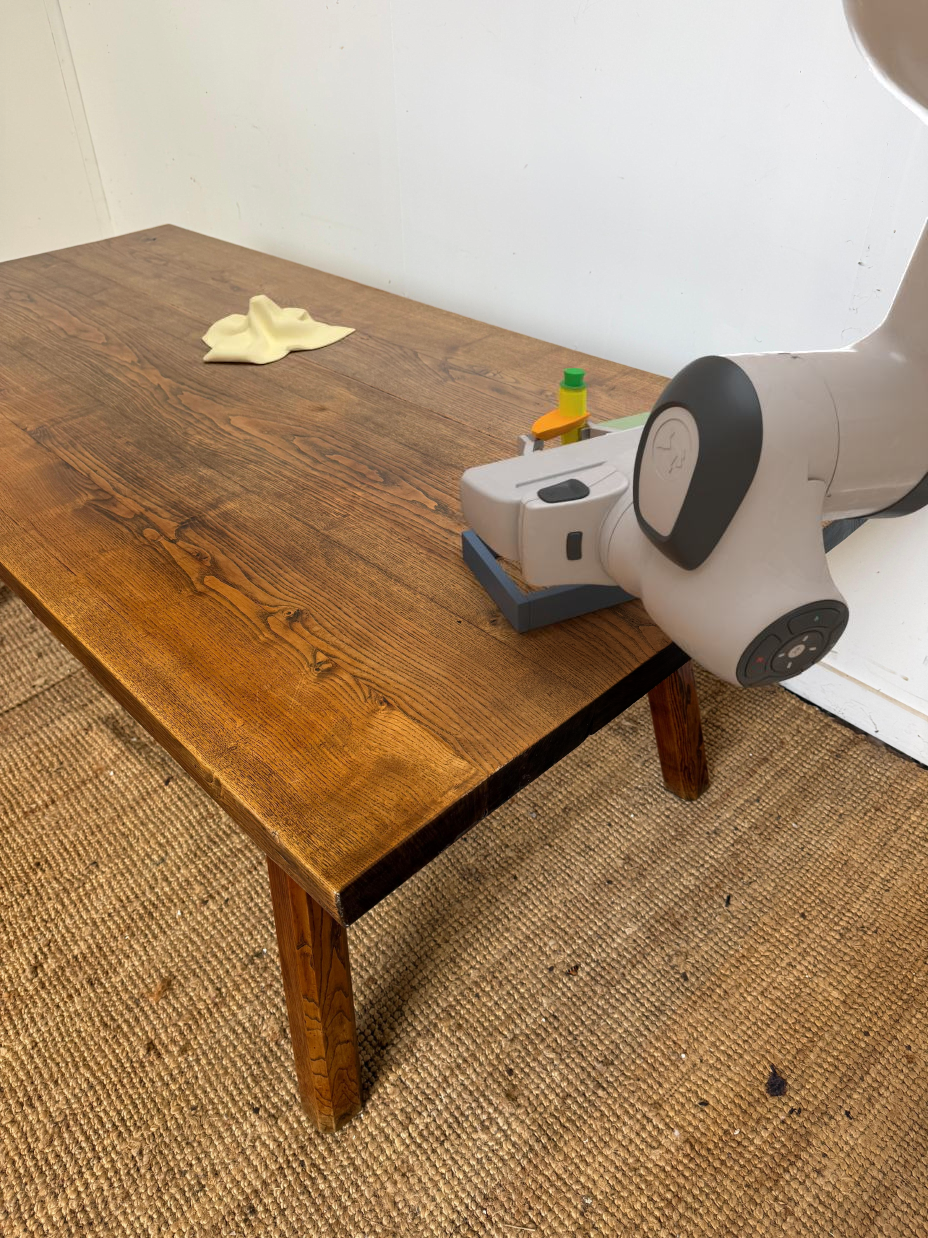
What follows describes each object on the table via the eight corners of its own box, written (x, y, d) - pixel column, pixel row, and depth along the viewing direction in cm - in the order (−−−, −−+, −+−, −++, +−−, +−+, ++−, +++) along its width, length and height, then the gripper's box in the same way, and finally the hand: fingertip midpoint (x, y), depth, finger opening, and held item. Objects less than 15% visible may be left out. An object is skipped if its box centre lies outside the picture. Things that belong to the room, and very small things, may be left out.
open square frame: (579, 527, 83) (580, 500, 82) (646, 595, 75) (649, 566, 73) (462, 559, 80) (461, 531, 78) (518, 634, 71) (517, 604, 69)
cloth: (211, 375, 118) (200, 330, 114) (187, 332, 131) (177, 290, 127) (368, 343, 124) (363, 299, 120) (330, 305, 138) (324, 265, 134)
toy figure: (551, 534, 71) (550, 393, 64) (520, 518, 73) (516, 380, 66) (607, 503, 74) (613, 366, 67) (576, 489, 77) (579, 354, 69)
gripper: (778, 440, 60) (667, 371, 71) (506, 512, 55) (429, 426, 65) (764, 518, 64) (661, 443, 75) (509, 593, 59) (436, 500, 69)
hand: (551, 435), depth 70 cm, fingers closed on toy figure, 3 cm apart
